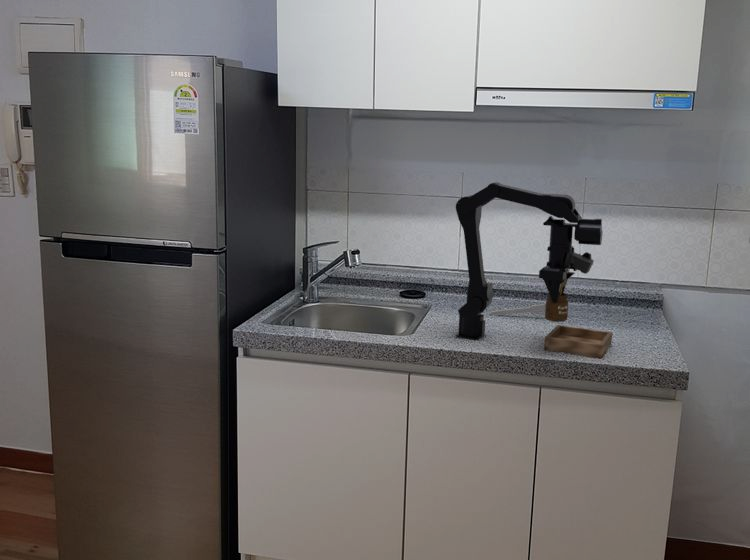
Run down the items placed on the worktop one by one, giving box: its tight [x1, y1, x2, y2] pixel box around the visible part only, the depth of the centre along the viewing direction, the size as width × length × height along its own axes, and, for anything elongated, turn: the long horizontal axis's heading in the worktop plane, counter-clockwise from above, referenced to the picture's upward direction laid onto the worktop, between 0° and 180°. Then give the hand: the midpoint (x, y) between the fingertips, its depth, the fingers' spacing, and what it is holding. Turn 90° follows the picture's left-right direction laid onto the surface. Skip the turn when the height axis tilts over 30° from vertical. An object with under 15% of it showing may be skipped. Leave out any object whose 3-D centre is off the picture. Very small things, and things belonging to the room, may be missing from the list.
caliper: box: [487, 303, 547, 320], centre depth 230 cm, size 20×1×6 cm, turn 79°
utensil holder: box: [544, 274, 569, 323], centre depth 196 cm, size 6×6×12 cm
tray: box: [543, 324, 613, 359], centre depth 198 cm, size 15×15×4 cm
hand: (557, 300), depth 196 cm, fingers closed on utensil holder, 5 cm apart
